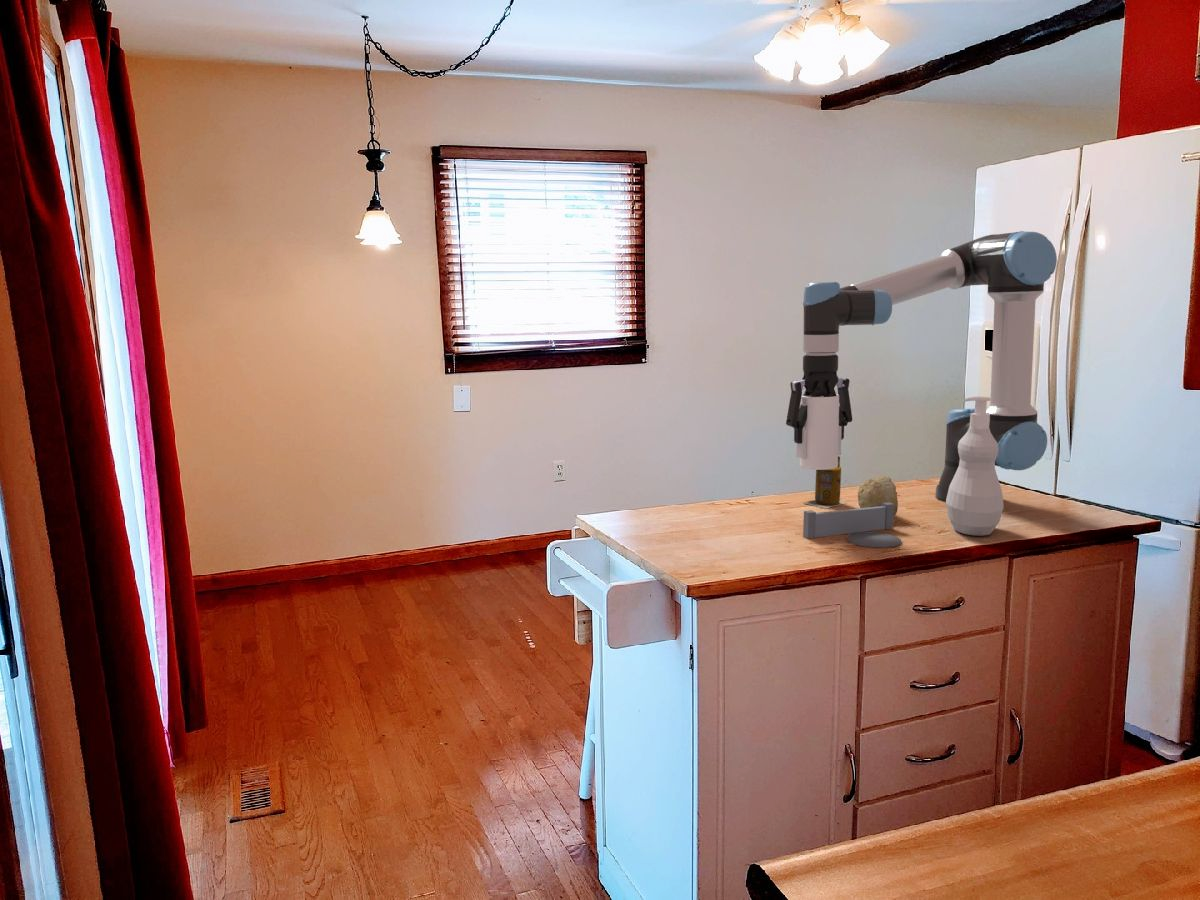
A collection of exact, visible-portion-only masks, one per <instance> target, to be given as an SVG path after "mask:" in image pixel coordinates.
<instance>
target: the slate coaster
mask: <svg viewBox="0 0 1200 900" xmlns="http://www.w3.org/2000/svg"><path fill="white" fill-rule="evenodd" d="M846 541H847V542H849V544H852V545H855V546H859V547H863V548H864V547H865V548H871V549H872V548H873V549H886V548H887V549H888V548H889V549H890V548H896V547H898V546H901V545H902V539H901V538H899V536H895V535H893V534H888V533H883V532H873V531H865V532H856V533H849V534H848V535H847V536H846Z"/></svg>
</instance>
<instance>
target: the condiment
mask: <svg viewBox="0 0 1200 900" xmlns="http://www.w3.org/2000/svg"><path fill="white" fill-rule="evenodd" d="M840 460H841V456H840V455H838V467H837V468H834V469H828V470H815V488H814V489H815V490H814V500H813V499H812V500H808V501H804V502H803V504H806V505H809V506H813V507H819V508H825V509H830V508H833V507H837V506H840V505H844V504H846V503H847V502H846V501H841V480H842V478H841V477H842V467H841V466H840V465H841V462H840Z"/></svg>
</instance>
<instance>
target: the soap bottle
mask: <svg viewBox="0 0 1200 900" xmlns="http://www.w3.org/2000/svg"><path fill="white" fill-rule="evenodd" d="M990 400H991V397H990V396H989V397H988V396H970V397H967V398H963V399H962V402H963V403H964V402H973V401H974V409H975V413H971V414H970V427H969V429H968V431H967V433H966V434H965V435H964V436H963V437H962V438H961V440H960V441H959V444H958V453H959V457H960V462H959V467H958V469H957V471H956V473H955V475H954V478H953V480H952V482H951V484H950V486H949V490H948V494H947V498H946V501H945V504H946V511H947V516H948V519H949V521H950V523H951V525H952V527H953V529H954V530H955V531H957V532H959V533H960V534H964V535H968V536H976V537H977V536H979V537H980V536H987V535H990V534H992V533H993V531H994V530H995V529H996V527H997V526H998V524H999V523H1000V521H1001V517H1002V514H1003V512H1004V506H1005V504H1004V498H1003V497H1004V496H1003V491H1002V487H1001V484H1000V481H999V477H998V474H997V472H996V471H997V470H996V466H995V460H996V458H997V455H998V451H999V448H998V443H997V442H996V440H995V439H994V437H993V436H992V434H991V432H990V428H989V421H990V414H986V407H988V402H990Z"/></svg>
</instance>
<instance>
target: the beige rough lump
mask: <svg viewBox="0 0 1200 900" xmlns="http://www.w3.org/2000/svg"><path fill="white" fill-rule="evenodd" d="M857 500H858V501H857V502H858V506H859V508H868V507H878V506H882V503H888V502H889V503H892V504H894V514H893V517H895V516H896V515H897V513H898V507H899V506H898V505H899V501H898V491H897V487H896V485H895V483H894V482H893V480H892V478H890V476H879V477H876V478H875V477H874V478H871V479H868V480H864V481H863V482H862V483H861V484H860V485H859V487H858V491H857Z"/></svg>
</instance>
